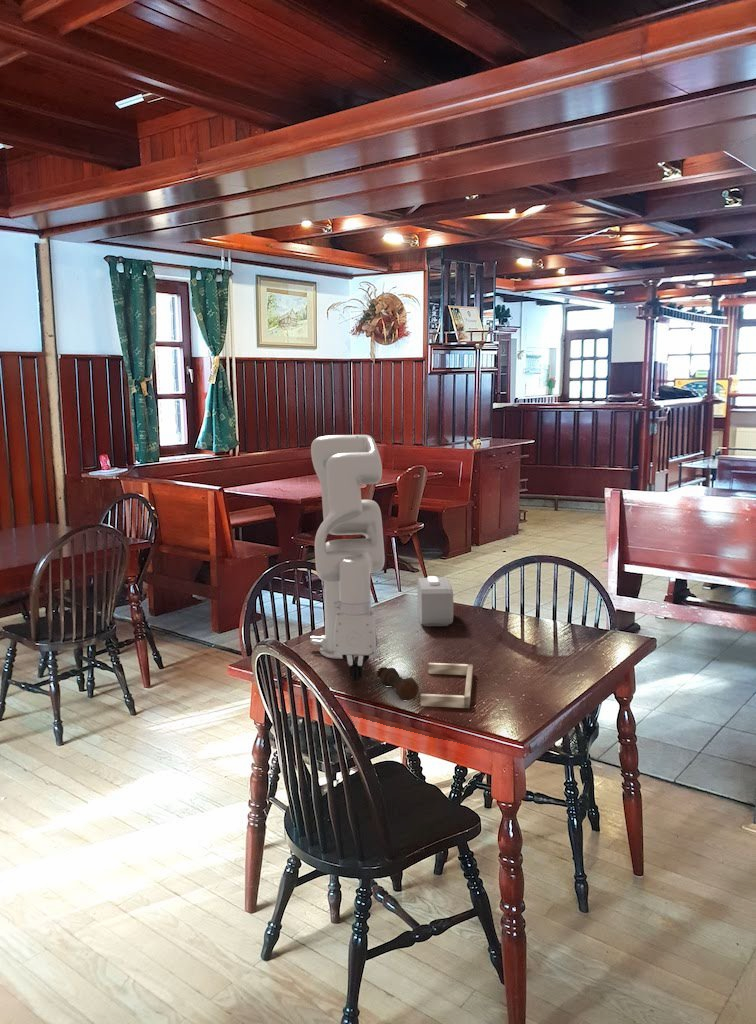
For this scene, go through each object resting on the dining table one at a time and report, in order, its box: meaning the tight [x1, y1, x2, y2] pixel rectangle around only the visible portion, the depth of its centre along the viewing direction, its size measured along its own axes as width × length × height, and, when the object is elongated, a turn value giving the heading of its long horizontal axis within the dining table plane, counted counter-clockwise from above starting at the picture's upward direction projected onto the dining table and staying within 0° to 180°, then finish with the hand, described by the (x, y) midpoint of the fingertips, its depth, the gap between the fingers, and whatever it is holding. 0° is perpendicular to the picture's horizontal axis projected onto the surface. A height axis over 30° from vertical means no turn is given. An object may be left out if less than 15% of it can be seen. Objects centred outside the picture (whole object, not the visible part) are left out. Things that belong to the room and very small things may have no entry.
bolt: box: [376, 666, 420, 701], centre depth 199 cm, size 6×5×15 cm
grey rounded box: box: [416, 575, 454, 627], centre depth 254 cm, size 21×10×13 cm, turn 1°
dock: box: [420, 662, 474, 709], centre depth 198 cm, size 11×22×2 cm, turn 172°
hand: (356, 679), depth 202 cm, fingers closed
